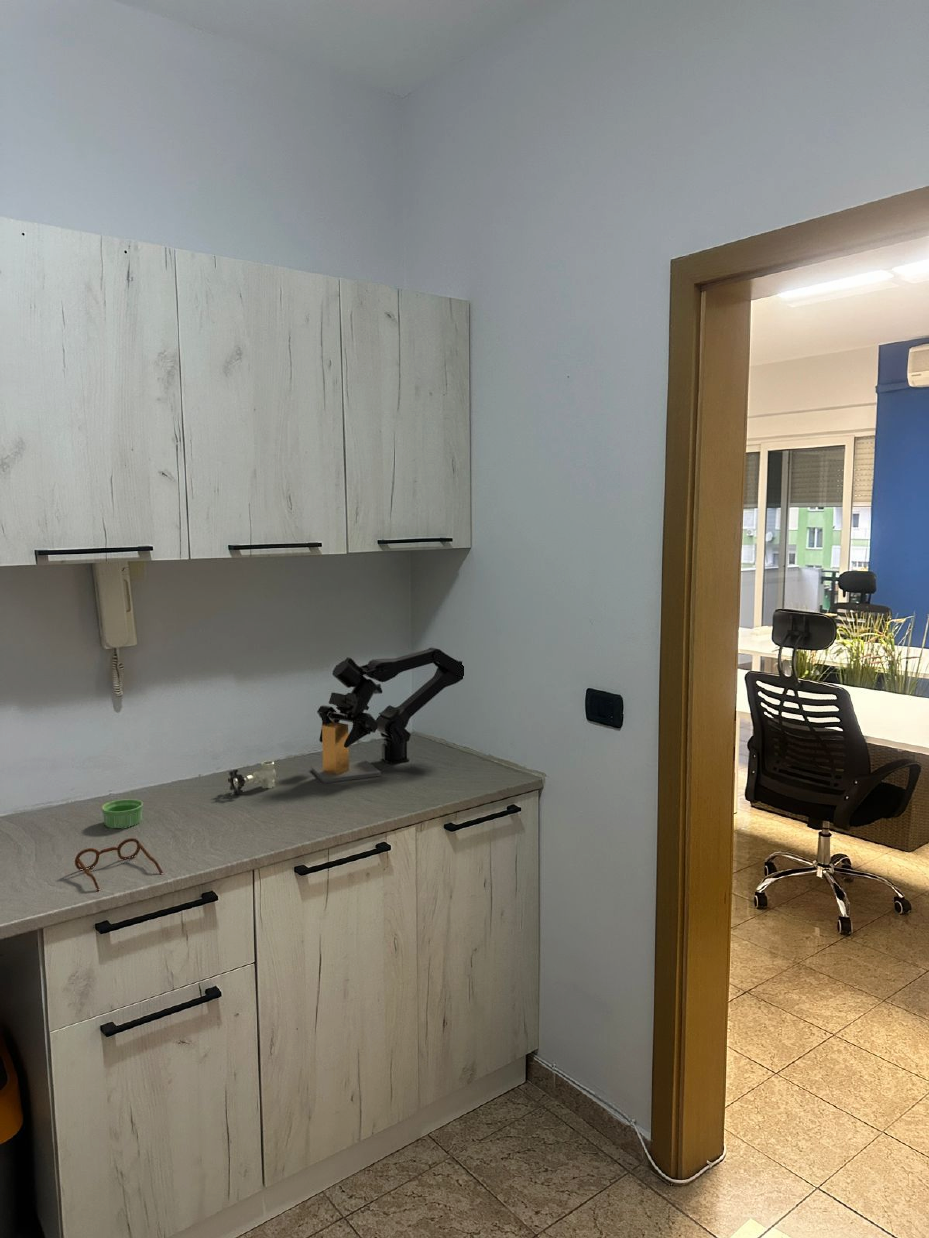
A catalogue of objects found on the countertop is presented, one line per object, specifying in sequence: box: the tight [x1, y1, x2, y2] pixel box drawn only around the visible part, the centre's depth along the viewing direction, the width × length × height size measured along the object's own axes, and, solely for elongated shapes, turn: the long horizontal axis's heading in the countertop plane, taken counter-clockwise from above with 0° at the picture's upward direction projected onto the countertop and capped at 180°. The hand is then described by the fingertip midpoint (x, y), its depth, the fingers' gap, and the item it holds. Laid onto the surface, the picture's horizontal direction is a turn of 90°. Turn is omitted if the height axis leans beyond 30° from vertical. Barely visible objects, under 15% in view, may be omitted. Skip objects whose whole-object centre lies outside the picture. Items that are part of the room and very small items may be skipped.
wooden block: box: [321, 722, 350, 775], centre depth 244 cm, size 5×5×13 cm
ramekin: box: [101, 798, 144, 829], centre depth 207 cm, size 9×9×4 cm
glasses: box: [74, 837, 164, 891], centre depth 179 cm, size 13×13×5 cm
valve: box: [227, 760, 277, 796], centre depth 232 cm, size 7×7×12 cm
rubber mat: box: [310, 759, 382, 784], centre depth 247 cm, size 16×13×1 cm
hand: (332, 744), depth 243 cm, fingers open, 9 cm apart
